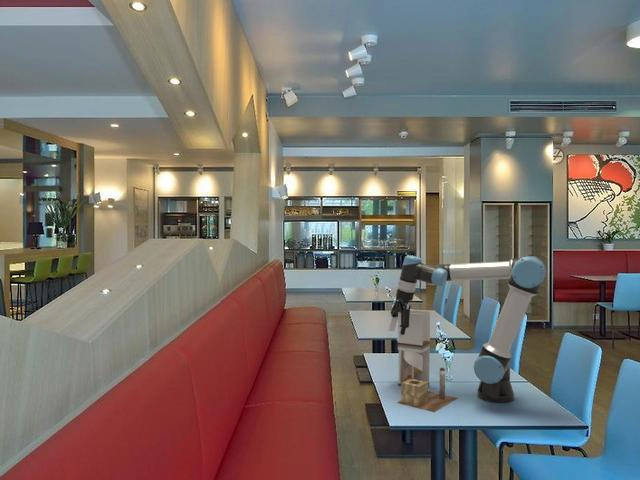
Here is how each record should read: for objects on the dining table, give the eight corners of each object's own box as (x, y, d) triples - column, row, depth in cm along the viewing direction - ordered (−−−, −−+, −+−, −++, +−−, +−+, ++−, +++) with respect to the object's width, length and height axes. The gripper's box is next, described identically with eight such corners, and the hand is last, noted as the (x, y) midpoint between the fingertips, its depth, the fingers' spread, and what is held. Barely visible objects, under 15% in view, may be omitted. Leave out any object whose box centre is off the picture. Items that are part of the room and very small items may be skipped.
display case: (397, 388, 236) (398, 312, 236) (405, 382, 246) (406, 309, 245) (421, 392, 231) (422, 314, 230) (429, 386, 240) (430, 311, 239)
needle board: (458, 401, 219) (458, 367, 219) (434, 416, 202) (434, 378, 202) (422, 393, 230) (422, 360, 230) (396, 406, 213) (396, 371, 212)
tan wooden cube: (427, 401, 215) (428, 382, 215) (418, 406, 209) (418, 386, 208) (410, 397, 220) (410, 378, 220) (401, 402, 214) (401, 382, 213)
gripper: (390, 282, 241) (380, 325, 244) (406, 296, 217) (395, 344, 219) (405, 284, 242) (395, 328, 245) (423, 299, 218) (412, 346, 220)
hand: (395, 335), depth 232 cm, fingers open, 13 cm apart
